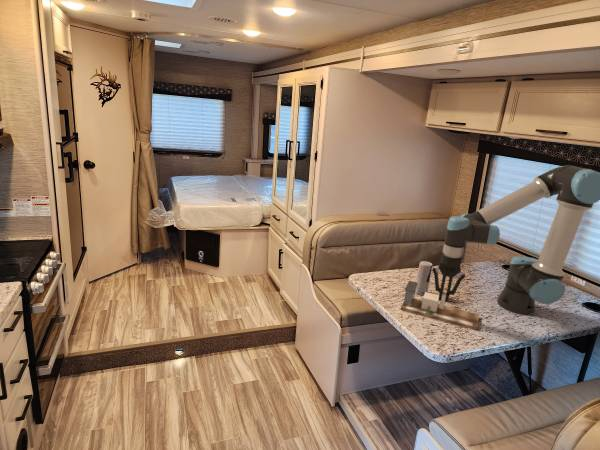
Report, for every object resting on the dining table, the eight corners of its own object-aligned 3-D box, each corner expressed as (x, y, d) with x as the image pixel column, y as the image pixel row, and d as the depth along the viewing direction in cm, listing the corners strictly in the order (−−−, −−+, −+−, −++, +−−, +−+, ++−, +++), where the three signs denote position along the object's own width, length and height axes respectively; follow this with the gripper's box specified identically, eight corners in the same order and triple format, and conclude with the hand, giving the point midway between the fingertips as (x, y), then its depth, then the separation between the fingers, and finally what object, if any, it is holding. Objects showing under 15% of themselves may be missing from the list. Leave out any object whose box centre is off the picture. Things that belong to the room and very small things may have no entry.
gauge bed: (478, 317, 165) (478, 314, 164) (477, 330, 154) (478, 327, 154) (406, 298, 176) (406, 295, 176) (400, 309, 166) (401, 306, 165)
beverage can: (427, 296, 180) (433, 266, 176) (415, 294, 181) (420, 264, 177) (426, 291, 185) (431, 261, 181) (414, 289, 186) (419, 260, 182)
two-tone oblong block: (415, 298, 174) (417, 282, 172) (411, 307, 166) (414, 291, 163) (406, 296, 176) (409, 280, 173) (402, 305, 167) (404, 288, 165)
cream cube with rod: (437, 306, 168) (439, 295, 167) (434, 315, 160) (437, 304, 159) (423, 302, 171) (425, 291, 169) (419, 311, 162) (421, 300, 161)
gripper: (470, 255, 158) (458, 308, 165) (436, 248, 163) (426, 300, 170) (469, 261, 152) (457, 315, 158) (434, 254, 157) (424, 307, 163)
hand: (441, 307), depth 164 cm, fingers closed
